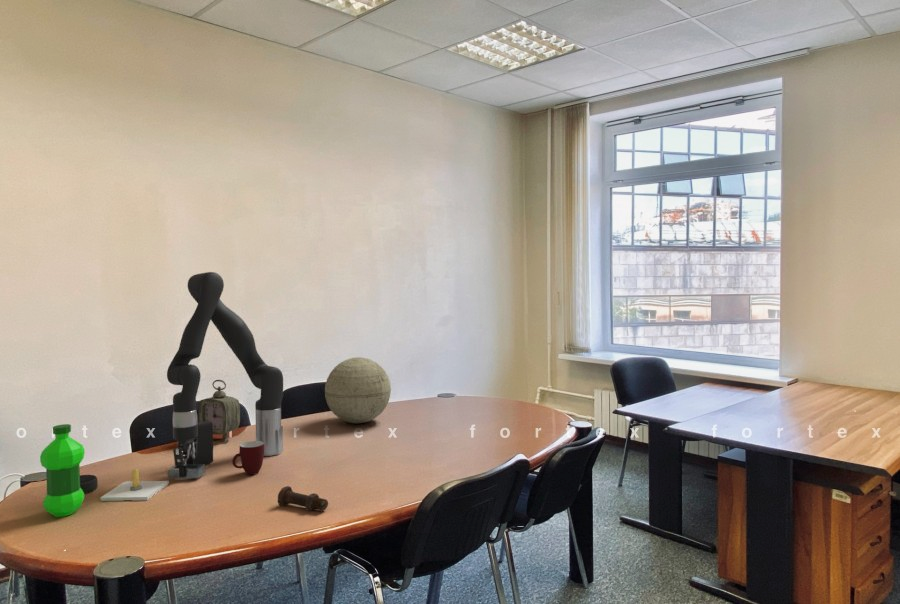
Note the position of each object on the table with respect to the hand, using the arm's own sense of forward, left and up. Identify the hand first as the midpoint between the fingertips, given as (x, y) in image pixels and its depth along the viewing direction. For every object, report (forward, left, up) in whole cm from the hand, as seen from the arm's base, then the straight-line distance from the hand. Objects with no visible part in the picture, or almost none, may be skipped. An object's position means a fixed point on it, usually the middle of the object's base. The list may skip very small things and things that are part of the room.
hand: (186, 473), depth 197 cm
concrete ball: (-48, -73, -2) cm, 87 cm away
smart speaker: (+28, +11, -2) cm, 30 cm away
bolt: (-45, +28, -2) cm, 53 cm away
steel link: (0, 0, -1) cm, 1 cm away
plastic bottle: (+22, +29, -2) cm, 37 cm away
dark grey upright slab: (+1, -14, -2) cm, 14 cm away
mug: (-20, -3, -2) cm, 20 cm away
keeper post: (+10, +13, -1) cm, 17 cm away
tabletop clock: (+5, -46, -2) cm, 46 cm away
